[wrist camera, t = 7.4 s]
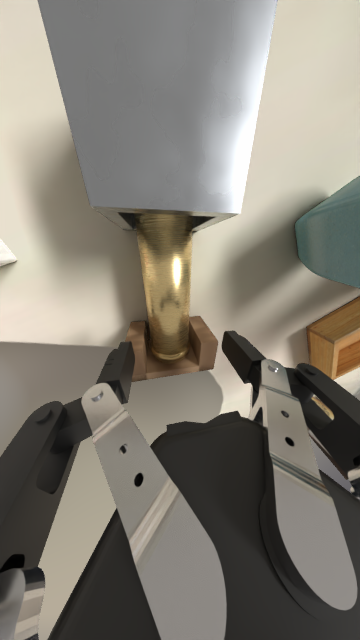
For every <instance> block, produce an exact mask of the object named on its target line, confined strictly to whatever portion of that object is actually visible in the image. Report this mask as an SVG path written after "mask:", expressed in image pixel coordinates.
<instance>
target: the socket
mask: <svg viewBox="0 0 360 640" xmlns="http://www.w3.org/2000/svg"><path fill="white" fill-rule="evenodd" d="M188 339H189V342H190V346H189V352H188V353H187V356H186V357H185V358H184V359H183V360H181V361H180V362H177V363H173V364H166V363H162V362H159V361H158V360H156V359H155V357H154V356H153V355H152V353H151V347H150V343H151V340H148V337H147V330H146V323H145V321H137V322H131V323H130V327H129V330H128V333H127V337H126V340H125V342H127V341H131V342H132V346H133V350H134V354H135V365H134V371H133V376H132V382H135V381H141V380H147V379H154V378H160V377H166V376H173V375H179V374H185V373H191V372H198V371H204V370H210V369H213V368H214V363H215V357H216V351H217V346H218V340H217V339H216V338H215V336H214V335H213V333H212V332H211V331H210V329H209V328H208V326H207V325H206V324H205V322H204V321H203V319H202V318H201V317H200V316H194V317H189V333H188Z"/></svg>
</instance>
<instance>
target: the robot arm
mask: <svg viewBox="0 0 360 640" xmlns="http://www.w3.org/2000/svg"><path fill="white" fill-rule="evenodd" d="M222 350H223V352H224V354H225V355H226V357H227V358H228V360H229V361H230V363H231V364H232V366H233V367H234V369H235V370H236V372H237V373H238V375H239V376H240V378H241V379H242V381H243V382H244V384H246V383H251V384H252V387H251V399H250V414H249V418H244V417H241V416H240V414H239V412H238V411H234V412H229V413H224V414H221V415H219V416H217V417H216V418H214V419H212V420H210V421H209V422H207V423H196V422H187V421H184V422H179V423H175V424H169V425H167V431H166V432H165V433H163V434H162V435H160V436H159V437H158V438H157V439H156V440H155V441H154V442H153V443H152V444H151V446H149V444H148V443H147V442H146V440H145V438H144V437H143V435H142V433H141V432H140V430H139V429H138V427H137V426H136V424H135V423H134V421H133V419H132V418H131V416H130V415H129V413H128V412H127V411H126V410H125V409H124V408H123V406H122V404H124V403H128V398H129V393H130V387H131V382H132V376H133V371H134V365H135V354H134V350H133V346H132V342H131V341H127V342H121V343H120V345H119V348H118V349H114V350H113V351H112V352H111V353H110V354H109V356H108V358H107V361H106V362H105V366H104V367H103V369H102V371H101V374H100V376H99V378H98V380H97V383H96V385H94V386H93V387H91V388H90V389H88V390H87V391H86V393H85V394H84V395H83V397H82V398H79V399H77V400H75V401H73V402H70V403H68V404H65V405H62V403H61V402H58V401H54V402H50V403H47V404H45V405H43V406H41V407H40V408H38V409H37V410H36V411H34V412H33V413H32V414H31V415H30V416H29V417H28V419H27V420H26V421H25V423H24V424H23V426H22V427H21V429H20V430H19V432H18V433H17V434H16V436H15V437H14V438H13V440H12V441H11V443H10V444H9V446H8V447H7V448H6V450H5V451H4V453H3V454H2V456H1V457H0V640H39V639H38V622H39V616H40V611H41V606H42V602H43V597H44V591H45V575H44V572H43V571H42V569H41V568H39V567H38V564H39V561H40V558H41V556H42V552H43V550H44V547H45V544H46V541H47V538H48V535H49V532H50V529H51V526H52V523H53V521H54V517H55V514H56V511H57V509H58V506H59V503H60V500H61V497H62V494H63V491H64V488H65V486H66V483H67V480H68V477H69V474H70V471H71V468H72V465H73V462H74V459H75V456H76V453H77V450H78V447H79V445H80V442H81V441H83V440H84V439H86V438H88V437H90V436H92V435H93V442H94V445H95V448H96V451H97V454H98V456H99V459H100V462H101V465H102V468H103V470H104V473H105V476H106V479H107V482H108V484H109V487H110V490H111V492H112V495H113V498H114V501H115V504H116V507H117V508H116V510H115V512H114V514H113V516H112V518H111V519H110V522H109V523H108V525H107V527H106V529H105V531H104V533H103V535H102V537H101V538H100V540H99V542H98V544H97V546H96V548H95V550H94V552H93V554H92V555H91V557H90V559H89V561H88V563H87V565H86V567H85V569H84V571H83V572H82V574H81V576H80V578H79V580H78V582H77V584H76V586H75V588H74V590H73V591H72V593H71V595H70V597H69V599H68V601H67V603H66V605H65V607H64V608H63V610H62V612H61V614H60V616H59V618H58V620H57V622H56V624H55V626H54V627H53V629H52V631H51V633H50V636H49V638H48V640H360V401H359V400H358V399H357V398H355V397H354V396H353V395H352V394H350V393H349V392H348V391H346V390H345V389H344V388H343V387H341V386H340V385H339V384H337V383H336V382H335V381H334V380H332V379H331V378H330V377H328V376H327V375H326V374H324V373H323V372H322V371H321V370H319V369H318V368H316V367H314V366H312V365H309V364H304V363H301V364H298V365H297V367H296V369H294V368H286V367H283V366H282V365H281V364H280V363H278V362H276V361H274V360H270V359H266V358H265V357H264V356H263V355H262V354H261V353H260V352H259V351H258V350H257V349H256V348H255V347H253V345H252V344H250V342H249V341H248V340H247V339H246V338H244V337H242V336H239V335H238V334H237V333H236V332H235V331H225V332H224V336H223V341H222ZM314 394H315V395H316V396H317V397H318V398H319V399H320V400H321V401H322V402H323V403H324V404H325V405H326V406H327V407H328V408H329V409H330V410H331V411H332V413H333V415H334V419H333V420H332V419H331V418H330V417H329V416H328V415H327V414H326V413H325V412H324V411H323V410H322V409H321V408H320V407H319V406H318V405H317V404H316V403H315V402H314V401H313V400H312V399H311V398H312V397H313V395H314ZM307 427H308V428H309V429H310V430H311V432H312V433H313V434H314V435H315V437H316V438H317V439H318V440H319V442H320V443H321V444H322V445H323V447H324V448H325V449H326V450H327V452H328V453H329V454H330V455H331V457H332V458H333V459H334V460H335V461H336V463H337V464H338V465H339V466H340V468H341V469H342V470H343V471H344V473H345V474H346V475H347V476H348V478H349V481H350V483H351V485H352V487H351V489H350V490H351V493H350V492H349V491H347V490H346V489H345V488H343V487H342V486H341V485H339V484H338V483H337V482H335V481H334V480H333V479H332V478H330V477H329V476H328V475H326V474H325V473H324V472H322V471H321V470H320V469H318V466H317V462H316V459H315V455H314V452H313V448H312V445H311V441H310V437H309V433H308V430H307Z"/></svg>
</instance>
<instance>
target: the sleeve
mask: <svg viewBox="0 0 360 640" xmlns="http://www.w3.org/2000/svg"><path fill="white" fill-rule="evenodd" d="M277 1H278V0H38V4H39V7H40V11H41V15H42V19H43V23H44V27H45V31H46V35H47V39H48V43H49V47H50V50H51V54H52V58H53V62H54V66H55V70H56V74H57V78H58V82H59V86H60V90H61V93H62V97H63V101H64V105H65V109H66V113H67V117H68V121H69V125H70V129H71V133H72V136H73V140H74V144H75V148H76V152H77V156H78V160H79V164H80V168H81V172H82V176H83V179H84V183H85V187H86V191H87V195H88V199H89V203H90V206H91V207H92V208H94V209H95V210H97V211H98V212H99V213H101V214H102V215H104V216H105V217H107V218H108V219H109V220H111V221H112V222H114V223H115V224H117V225H118V226H119V227H121V228H122V229H124V230H136V222H135V215H134V213H146V214H168V215H191V216H193V229H192V231H199V230H201V229H204V228H206V227H209V226H211V225H214V224H216V223H219V222H221V221H223V220H226V219H228V218H231V217H233V216H236V215H238V214H240V212H241V206H242V200H243V195H244V189H245V183H246V178H247V172H248V166H249V161H250V155H251V149H252V143H253V138H254V132H255V126H256V121H257V115H258V109H259V104H260V98H261V92H262V87H263V81H264V75H265V69H266V64H267V58H268V52H269V47H270V41H271V35H272V30H273V24H274V18H275V13H276V7H277Z"/></svg>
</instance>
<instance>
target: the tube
mask: <svg viewBox="0 0 360 640" xmlns="http://www.w3.org/2000/svg"><path fill="white" fill-rule="evenodd" d="M134 215H135V222H136V230H137V237H138V245H139V252H140V260H141V267H142V275H143V283H144V290H145V298H146V305H147V313H148V320H149V328H150V335H151V343H150V347H151V353H152V355H153V356H154V357H155V359H156V360H158V361H159V362H162V363H166V364H173V363H177V362H180V361H181V360H183V359H184V358H185V357H186V356H187V353H188V352H189V346H190V342H189V339H188V333H189V307H190V281H191V255H192V229H193V216H191V215H168V214H146V213H134Z"/></svg>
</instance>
